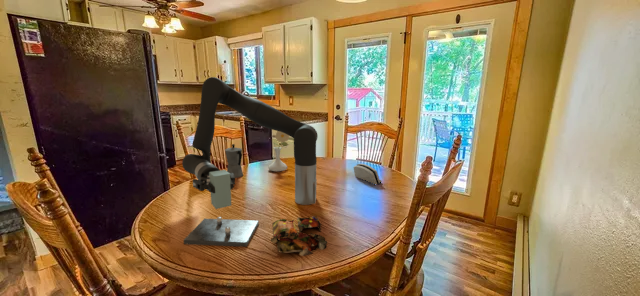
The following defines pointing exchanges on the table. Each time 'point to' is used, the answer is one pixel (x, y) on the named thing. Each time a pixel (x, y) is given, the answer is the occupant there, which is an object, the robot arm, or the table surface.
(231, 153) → the coffeepot
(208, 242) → the mounting plate
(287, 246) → the food
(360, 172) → the napkin holder
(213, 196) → the block
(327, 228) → the table surface
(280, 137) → the flower in vase
